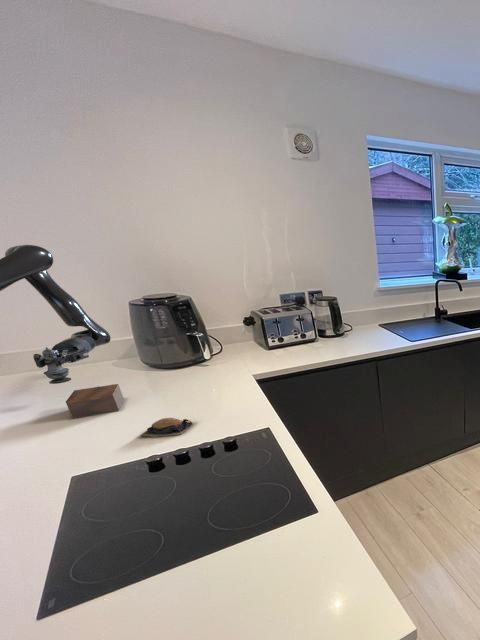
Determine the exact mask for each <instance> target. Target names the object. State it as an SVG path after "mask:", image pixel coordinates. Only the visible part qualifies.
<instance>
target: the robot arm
mask: <svg viewBox="0 0 480 640" xmlns="http://www.w3.org/2000/svg"><path fill="white" fill-rule="evenodd" d="M53 265H54V256H53V254H52V253H51V252H50V251H49V250H48V249H47V248H44V247H42V246H39V245H35V244H20V245H15V246H10V247H9V248H7V249H6V250H5V252H4V257H1V258H0V292H2V291H4V290H5V289H7V288H8V287H10V286H12V285H13V284H15V283H17V282H19V281H22V280H25V281H27V282H28V283H29V284H30V285H31V287H32V288H34V289H35V290H36V291H37V292H38V294H40V295H41V296H42V297H43V299H44V300H45V301H46V302H47V303H48V304H49V306H50V307H51V308H52V309H53V310H54V311H55V314H57V315H58V316H59V318H60V319H61V320H62V322H63V323H64V324H65V325H66V326H68V327H70V328H71V327H73V328H74V327H83V328H84V330H80V331H77V332H74V333H72V334H71V335H70V337H69V338H65V339H63V340H61V341H60V342H58V343H56V344H55V345H54V346H52V348H51V350H53V351H55V354H56V356H57V359H55V360H54V362H55V364H56V366H63V365H65V364H73V363H76V362H79V361H82V360H84V359H87V358H89V357H90V356H89V353H90V352H92V351H93V350H94V349H95V348H96V347H100V346H104V345H107V344H109V343H110V342H111V334H110V333H109V332H108V331H107V330H106V329H105V328H104V327H103V326H101V325H100V324H99V323H97V322H96V321H95V320H94V319H92V317H90V316H89V315H88V314H87V311H85V309H83V307H82V305H80V303H79V302H78V301H77V300H76V298H74V297H73V296H72V295H70V293H68V292H67V291H66V290H65V289H64V288H62V286H60V285H59V283H57V282H56V281H55V280H54V278H52V275H50V274H49V272H48V270H49V269H50V268H51V267H52V266H53ZM32 358H33V360H34V363H35V365H36V367H37V368H38V369H41V368H45V367H47V364H46V362H44V361H45V359H44V356H43V354H42V353H41V354H40V353H34V354H33V357H32Z"/></svg>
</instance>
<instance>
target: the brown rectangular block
mask: <svg viewBox="0 0 480 640" xmlns="http://www.w3.org/2000/svg"><path fill="white" fill-rule="evenodd" d="M124 400H125V398H124V396H123V392H122V390H121V388H120V385H119V383H115V384H107V385H101V386H95V387H88V388H80V389H74V390H73V391H72V393H71V394H70V395H69V396H68V398H67V399H66V401H65V404H66V407H67V409H68V411H69V413H70V416H71V418H72V419H74V420H75V419H79V418H85V417H90V416H91V417H92V416H96V415H102V414H108V413H113V412H114V413H115V412H119V411H120V409H121V407H122V404H123V402H124Z"/></svg>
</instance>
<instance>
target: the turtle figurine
mask: <svg viewBox="0 0 480 640" xmlns="http://www.w3.org/2000/svg"><path fill="white" fill-rule="evenodd" d="M193 425H194V422H192V421H191V420H189V419H188V418H187V419H186V418H184V419H179V418H175V417H164V418H160V419H159V420H156V421H155V422H153V423H152V424H151V426H149V427H147V429H146V430H145V431H144V432H143V433H142V434H141V437H169V436H180V435H182V434H184V433H186V432H187V431H188V429H191V427H192V426H193Z"/></svg>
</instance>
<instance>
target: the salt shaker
mask: <svg viewBox="0 0 480 640" xmlns="http://www.w3.org/2000/svg"><path fill="white" fill-rule="evenodd" d="M44 349H45V350H43V351H42V352H41V355H43V356H44V359H45V361H44V362H46V364H47V365H46V367H47V370H46V371H44V372H43V375H45V376H46V378H48V379H50V381H48V384H50V385H57V384H63V383H67V382H70V381H72V380H73V378H71V377H68V376H69V370H70V368H67V367H64V366H63V365H61V366H56V364H55V362H54V360H55V359H57V356H56V354H55V351H53V350H52V349H50V348H49V347H47V346H46V347H45V348H44Z"/></svg>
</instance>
